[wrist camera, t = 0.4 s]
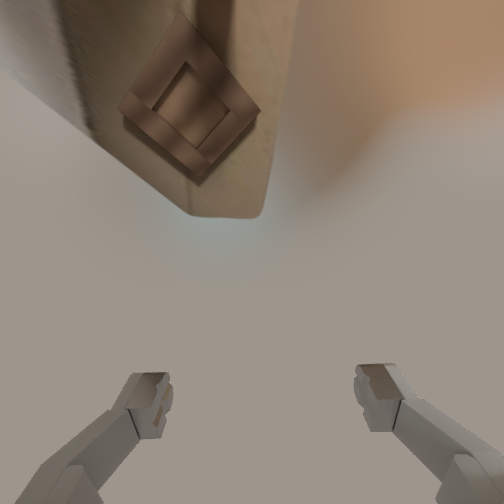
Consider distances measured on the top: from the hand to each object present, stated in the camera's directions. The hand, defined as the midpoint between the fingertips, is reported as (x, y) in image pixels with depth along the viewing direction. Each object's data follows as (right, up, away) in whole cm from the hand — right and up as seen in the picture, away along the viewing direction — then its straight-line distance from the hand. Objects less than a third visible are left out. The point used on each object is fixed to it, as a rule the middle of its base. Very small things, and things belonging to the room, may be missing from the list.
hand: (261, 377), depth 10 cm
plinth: (-12, +33, +35) cm, 50 cm away
